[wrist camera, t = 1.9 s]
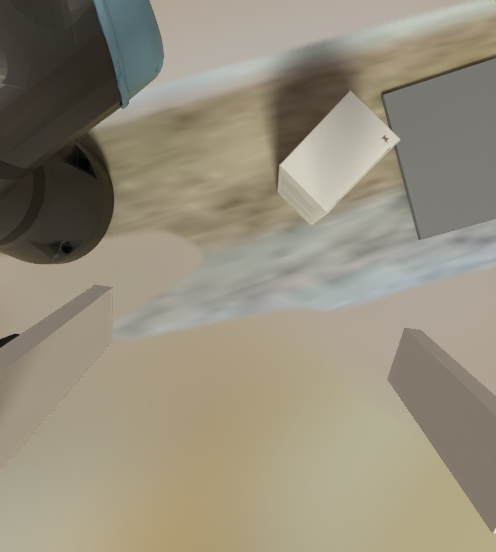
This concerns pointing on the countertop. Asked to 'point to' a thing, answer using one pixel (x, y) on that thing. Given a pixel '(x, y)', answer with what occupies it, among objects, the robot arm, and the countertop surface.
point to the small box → (333, 158)
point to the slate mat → (447, 147)
